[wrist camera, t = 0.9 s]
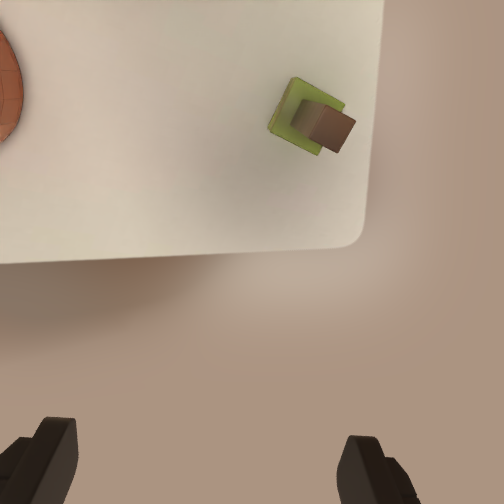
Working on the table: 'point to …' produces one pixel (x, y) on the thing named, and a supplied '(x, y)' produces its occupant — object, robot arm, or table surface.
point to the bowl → (9, 89)
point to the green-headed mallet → (310, 118)
